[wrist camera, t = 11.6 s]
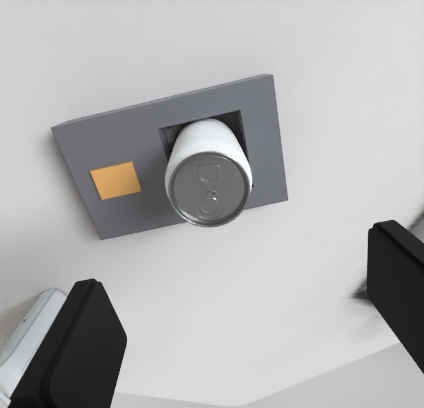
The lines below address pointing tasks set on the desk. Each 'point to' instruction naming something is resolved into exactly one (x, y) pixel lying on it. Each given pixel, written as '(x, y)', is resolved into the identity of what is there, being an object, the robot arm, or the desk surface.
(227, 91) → the grey socket block
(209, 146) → the can
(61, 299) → the photo printer
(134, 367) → the desk surface
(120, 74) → the desk surface
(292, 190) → the desk surface
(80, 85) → the desk surface
